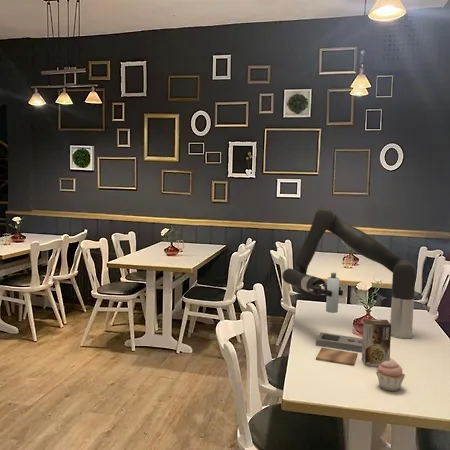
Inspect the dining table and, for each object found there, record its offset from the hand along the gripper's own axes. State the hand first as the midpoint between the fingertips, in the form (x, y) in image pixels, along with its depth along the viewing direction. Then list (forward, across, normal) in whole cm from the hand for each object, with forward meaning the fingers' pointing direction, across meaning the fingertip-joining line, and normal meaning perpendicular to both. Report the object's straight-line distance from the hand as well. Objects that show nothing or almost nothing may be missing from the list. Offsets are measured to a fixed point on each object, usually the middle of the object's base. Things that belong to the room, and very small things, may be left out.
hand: (336, 293), depth 194 cm
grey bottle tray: (+1, +4, +22) cm, 22 cm away
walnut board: (+11, -7, +22) cm, 26 cm away
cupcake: (+40, -7, +22) cm, 46 cm away
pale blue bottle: (-3, 0, +8) cm, 8 cm away
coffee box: (+21, +3, +22) cm, 31 cm away
